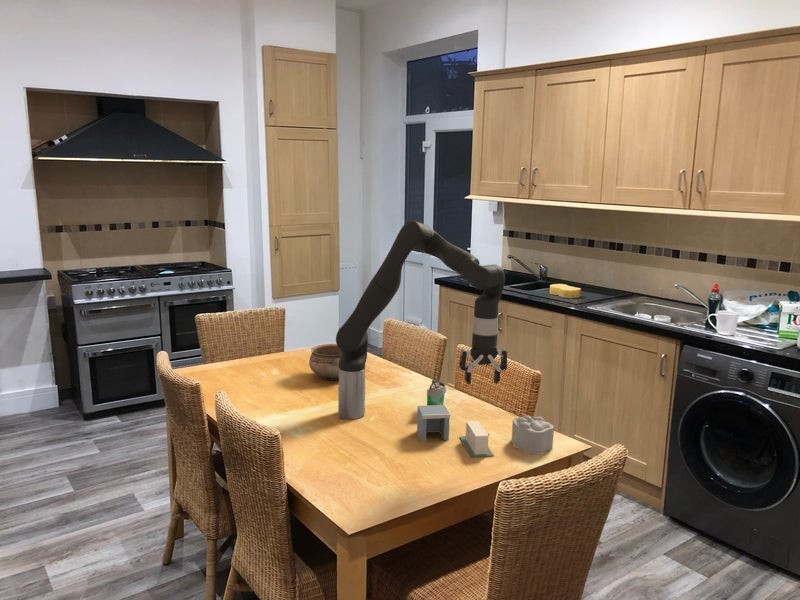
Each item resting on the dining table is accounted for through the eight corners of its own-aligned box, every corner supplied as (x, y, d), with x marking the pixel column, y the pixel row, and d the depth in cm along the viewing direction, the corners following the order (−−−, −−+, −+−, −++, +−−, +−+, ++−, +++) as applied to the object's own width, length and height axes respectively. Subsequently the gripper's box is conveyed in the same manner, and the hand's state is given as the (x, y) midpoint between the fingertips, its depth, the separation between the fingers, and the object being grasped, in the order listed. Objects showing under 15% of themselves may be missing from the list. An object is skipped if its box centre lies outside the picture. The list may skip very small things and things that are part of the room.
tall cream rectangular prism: (474, 454, 195) (475, 436, 194) (465, 438, 207) (466, 421, 205) (487, 454, 196) (488, 435, 194) (477, 438, 207) (478, 420, 206)
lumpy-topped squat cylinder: (536, 456, 196) (538, 429, 194) (503, 442, 205) (505, 417, 204) (556, 447, 203) (558, 421, 201) (523, 434, 212) (525, 409, 211)
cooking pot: (367, 381, 262) (368, 352, 260) (328, 390, 251) (328, 360, 248) (335, 366, 281) (335, 339, 279) (297, 374, 270) (297, 346, 268)
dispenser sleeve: (421, 441, 204) (422, 415, 203) (417, 431, 213) (417, 405, 211) (449, 440, 206) (450, 414, 204) (443, 430, 214) (444, 404, 212)
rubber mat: (471, 457, 194) (471, 456, 194) (459, 437, 208) (459, 436, 208) (493, 456, 195) (493, 455, 195) (480, 436, 209) (480, 435, 209)
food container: (443, 418, 224) (444, 391, 222) (426, 417, 225) (427, 390, 223) (447, 406, 236) (448, 380, 234) (431, 404, 237) (432, 379, 235)
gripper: (464, 334, 186) (462, 387, 189) (511, 334, 188) (508, 386, 191) (458, 328, 193) (456, 379, 196) (504, 328, 195) (501, 378, 198)
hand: (482, 383), depth 194 cm, fingers open, 8 cm apart
